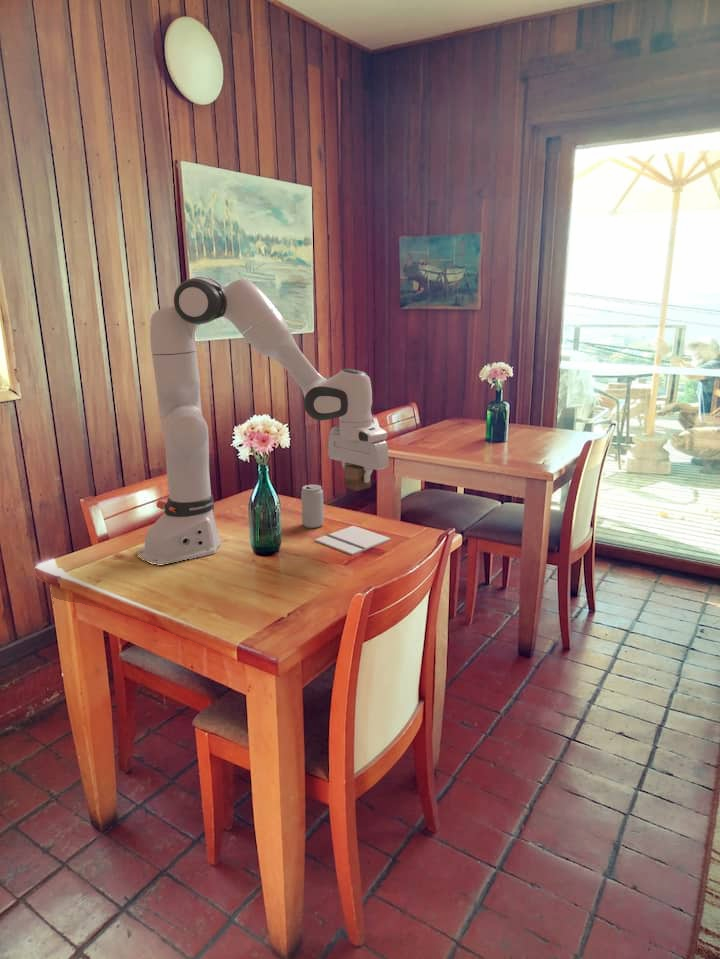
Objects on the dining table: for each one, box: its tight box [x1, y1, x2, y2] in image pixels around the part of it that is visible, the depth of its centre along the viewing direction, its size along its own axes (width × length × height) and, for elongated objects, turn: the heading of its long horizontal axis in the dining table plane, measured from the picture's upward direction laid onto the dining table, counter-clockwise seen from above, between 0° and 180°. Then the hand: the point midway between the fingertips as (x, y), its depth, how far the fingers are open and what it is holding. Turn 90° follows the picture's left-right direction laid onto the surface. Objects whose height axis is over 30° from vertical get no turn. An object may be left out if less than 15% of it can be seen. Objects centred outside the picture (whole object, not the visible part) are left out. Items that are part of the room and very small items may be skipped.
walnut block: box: [343, 464, 372, 492], centre depth 180 cm, size 5×5×6 cm
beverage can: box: [300, 484, 325, 529], centre depth 195 cm, size 6×6×12 cm
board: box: [314, 525, 392, 556], centre depth 184 cm, size 15×15×1 cm
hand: (357, 479), depth 180 cm, fingers closed on walnut block, 5 cm apart
